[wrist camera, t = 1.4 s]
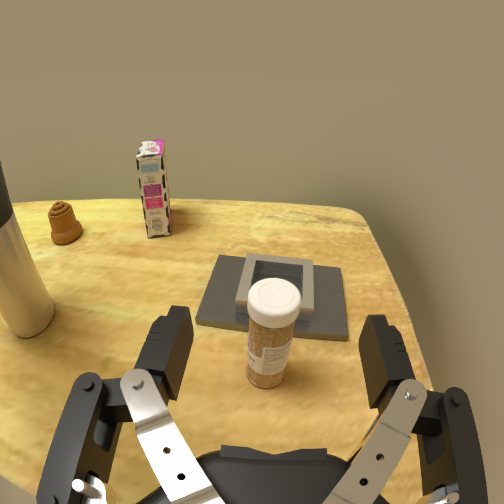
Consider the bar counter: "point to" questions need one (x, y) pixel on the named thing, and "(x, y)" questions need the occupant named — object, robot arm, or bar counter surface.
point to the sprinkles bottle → (270, 329)
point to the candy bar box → (154, 188)
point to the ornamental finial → (63, 223)
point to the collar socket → (290, 269)
